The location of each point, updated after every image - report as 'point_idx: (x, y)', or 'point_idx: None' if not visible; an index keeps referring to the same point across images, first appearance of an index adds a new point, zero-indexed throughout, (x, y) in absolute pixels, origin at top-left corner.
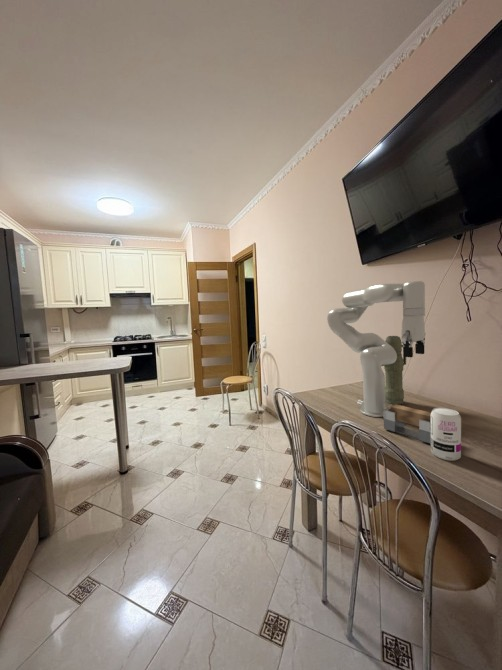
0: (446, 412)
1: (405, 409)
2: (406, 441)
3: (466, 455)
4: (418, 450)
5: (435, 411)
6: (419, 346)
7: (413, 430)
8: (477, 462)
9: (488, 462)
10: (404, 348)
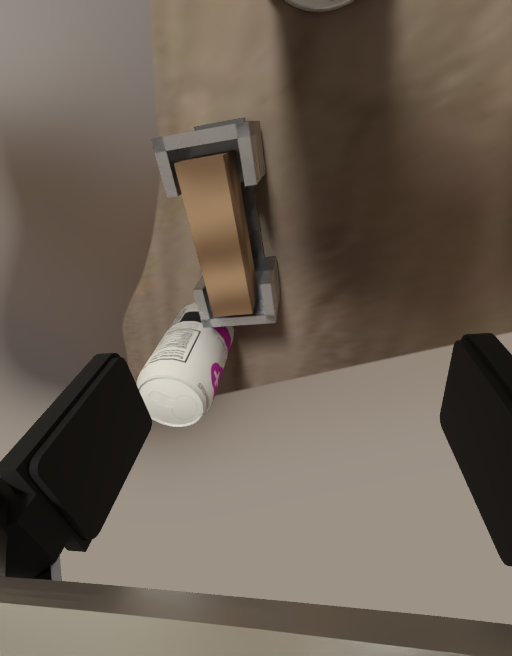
0: (168, 405)
1: (200, 231)
2: (183, 237)
3: (244, 348)
4: (170, 282)
5: (147, 386)
6: (503, 490)
7: (256, 214)
8: (233, 368)
9: (251, 378)
10: (27, 451)
